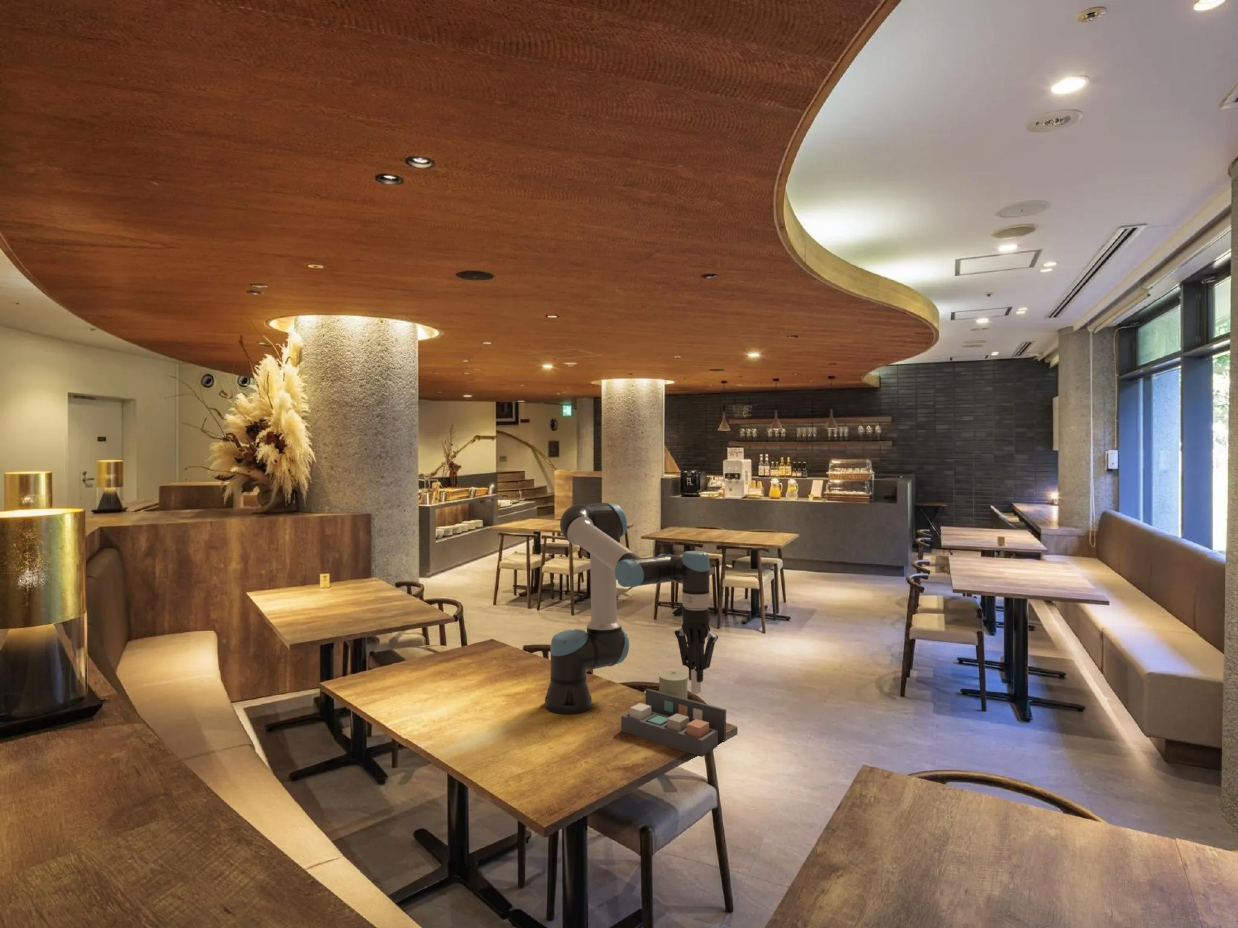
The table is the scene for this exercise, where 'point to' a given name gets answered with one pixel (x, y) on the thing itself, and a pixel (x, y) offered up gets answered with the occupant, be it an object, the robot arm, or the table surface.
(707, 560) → the robot arm
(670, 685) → the can
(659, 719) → the key
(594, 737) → the table surface
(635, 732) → the key frame
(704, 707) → the screen
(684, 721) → the grey block
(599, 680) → the table surface
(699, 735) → the key
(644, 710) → the key
